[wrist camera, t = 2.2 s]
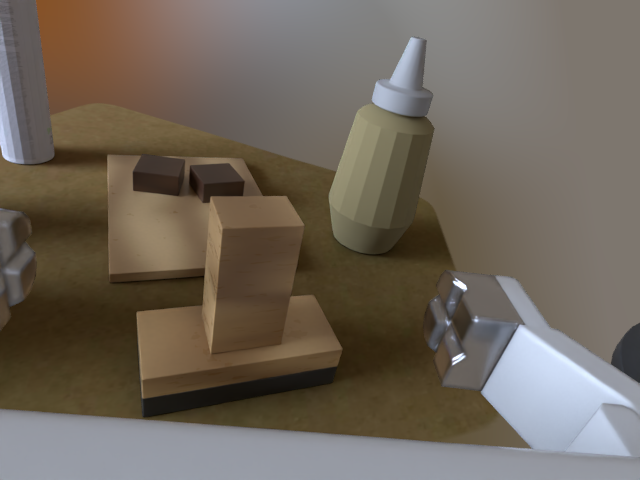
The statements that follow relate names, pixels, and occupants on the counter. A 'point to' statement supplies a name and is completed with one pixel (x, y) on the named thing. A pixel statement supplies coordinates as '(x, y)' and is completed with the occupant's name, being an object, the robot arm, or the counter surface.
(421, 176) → the squeeze bottle
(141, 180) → the chip
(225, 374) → the brush
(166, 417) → the counter surface
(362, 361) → the counter surface
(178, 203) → the board
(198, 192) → the dark brown square block
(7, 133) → the bottle
